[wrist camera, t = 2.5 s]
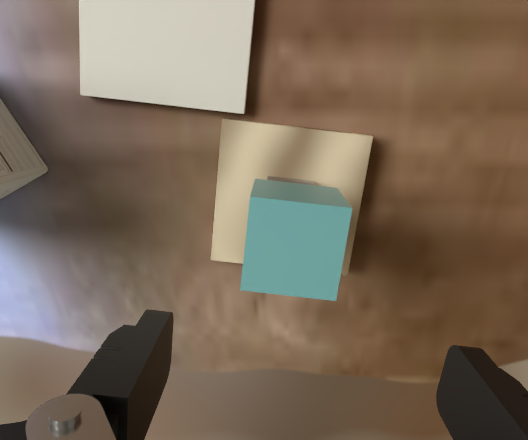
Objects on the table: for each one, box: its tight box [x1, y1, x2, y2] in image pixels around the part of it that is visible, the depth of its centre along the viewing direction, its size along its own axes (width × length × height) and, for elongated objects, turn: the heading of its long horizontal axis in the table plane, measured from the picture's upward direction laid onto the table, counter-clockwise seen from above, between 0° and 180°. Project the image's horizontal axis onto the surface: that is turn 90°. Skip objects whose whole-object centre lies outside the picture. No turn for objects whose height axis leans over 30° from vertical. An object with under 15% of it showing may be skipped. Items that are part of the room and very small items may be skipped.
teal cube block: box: [240, 179, 352, 301], centre depth 23 cm, size 5×5×5 cm
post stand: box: [211, 118, 373, 276], centre depth 26 cm, size 11×11×12 cm
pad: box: [79, 0, 256, 114], centre depth 28 cm, size 12×12×1 cm
